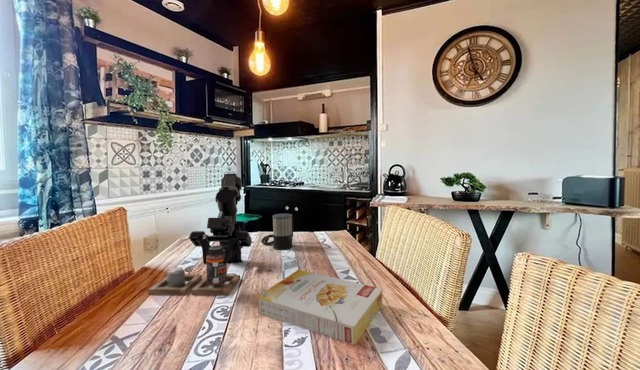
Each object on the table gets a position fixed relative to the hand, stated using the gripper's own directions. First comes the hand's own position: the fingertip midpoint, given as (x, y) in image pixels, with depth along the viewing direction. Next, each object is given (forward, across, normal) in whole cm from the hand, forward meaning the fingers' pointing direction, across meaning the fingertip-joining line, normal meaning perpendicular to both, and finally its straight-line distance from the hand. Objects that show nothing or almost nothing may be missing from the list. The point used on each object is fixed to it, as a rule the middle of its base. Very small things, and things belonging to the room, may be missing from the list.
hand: (214, 263), depth 89 cm
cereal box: (+13, +33, 0) cm, 36 cm away
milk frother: (-26, +10, +40) cm, 49 cm away
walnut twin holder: (+5, -6, +7) cm, 11 cm away
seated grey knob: (+5, -13, +6) cm, 15 cm away
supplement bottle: (+4, 0, +6) cm, 7 cm away
